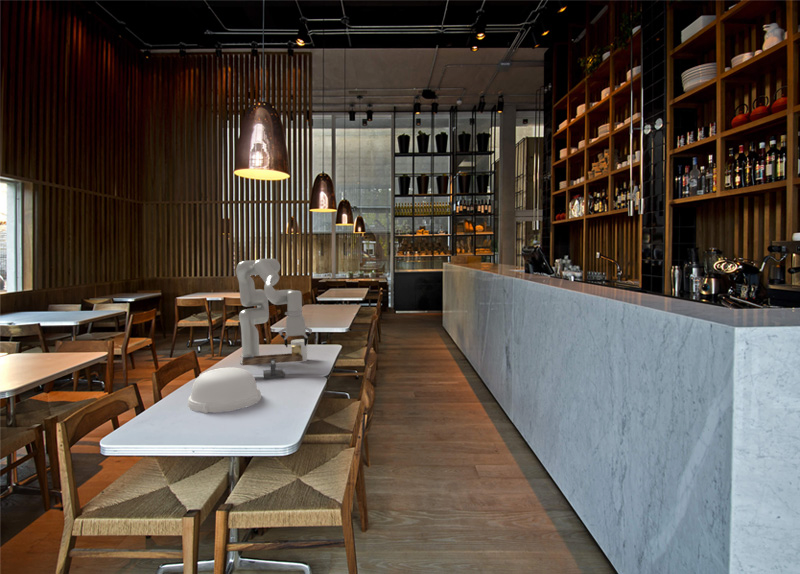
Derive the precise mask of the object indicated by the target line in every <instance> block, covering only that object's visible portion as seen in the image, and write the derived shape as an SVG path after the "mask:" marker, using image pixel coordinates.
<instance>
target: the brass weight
mask: <svg viewBox="0 0 800 574" xmlns="http://www.w3.org/2000/svg"><path fill="white" fill-rule="evenodd" d="M290 347H292V348H291V353H292V356H301V345H298V344H297V345H292V346H291V345H290Z"/></svg>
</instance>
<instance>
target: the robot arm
mask: <svg viewBox="0 0 800 574" xmlns="http://www.w3.org/2000/svg"><path fill="white" fill-rule="evenodd" d="M235 269H236V270H235V273H236V277H237V281H238V286H239V289H238V290H239V298H240V304H241V305H242V306H243V307H252V308H247V309H246V308H245V309H242V310H241V311H240V312H239V314H238V320H239V325H240V331H241V332H240V333H241V350H242V353H241V355H240V357H241V359H240V360H239V363H240V364H241V365H242V360H243V356H244V355H249V354H254V356H260V340H259V339H260V337H259V336H260V335H259V330H258V328H257V327H256V325H259V324H265V323H267V322H268V321H269V318H270V312H269V311H270V310H269V302H270V303H271V304H273V305H275V306H276V305H277V306H279V305H287V311H285V312H284V315H285V316H286V319H285V327H284V328H282V329H280V330H279V331H278V334H279V336H280V337H281V338H282V339H283V340H284V341H283V342H284V346H285V348H288V345H289V344H288V343H289V342H288V338H289V337H297V336H298V337H301V336H303V337H304V338H303V339H304V345H305V346H306V344H307V340H308V338H309V337H310V336H311V334H312V332H313V329H311V328H310V327H307V326H306V321H305V320H306V319H305V316H304V315H303V300H302V299H303V296H302V294H303V293H302V291H300V290H293V289H279V290H276V289H275V288H274V287H273V286H275V285H277V284H278V282H279V280H280V275H279V272H280V270H281V264H280V262H279V261H278V260H277V259H276V258H259V259H255V260H254V259H253V260H252V259H251V260H241V261H240V262H238V264H237V265H236V268H235ZM251 276H259V277H260V278H261V279H262V281H263V282H264V285H263V289H260V288H259V289H256V285H255V281H254V278H252V277H251ZM307 331H308V333H307V334H306V332H307ZM284 332H285V335H284V334H283V333H284ZM307 345H308V344H307Z"/></svg>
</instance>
